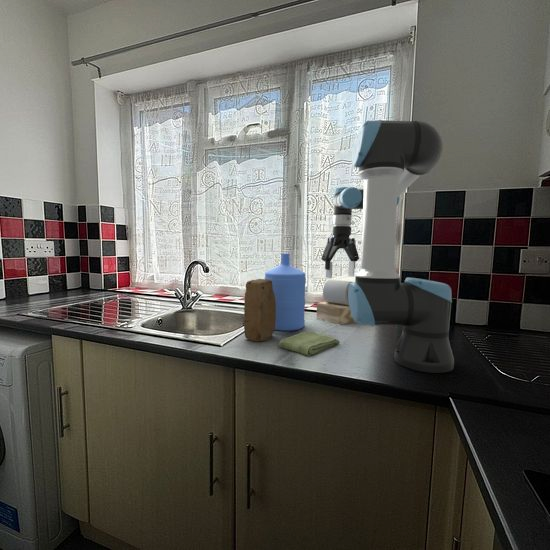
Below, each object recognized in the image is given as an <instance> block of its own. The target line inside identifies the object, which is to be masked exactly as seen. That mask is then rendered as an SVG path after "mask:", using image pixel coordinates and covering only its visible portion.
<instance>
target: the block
mask: <svg viewBox="0 0 550 550" xmlns="http://www.w3.org/2000/svg"><path fill="white" fill-rule="evenodd" d="M243 305H244V307H243V309H244V310H243V311H244V312H243V330H244V337H245V339H247V340H249V341H252V342H265V341H269V340H270V338H271V337H272V336H273V335H274V332H275V330H274V329H275V320H276V301H275V294H274V291H273V285H272V281H271V280H268V279H265V278H257V279H251V280H248V281H247V282H246V284H245V292H244V303H243Z"/></svg>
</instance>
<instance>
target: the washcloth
mask: <svg viewBox="0 0 550 550" xmlns="http://www.w3.org/2000/svg"><path fill="white" fill-rule="evenodd" d="M339 343H340V340H339V339H337V338H335V337H332V336H329V335H327V334H324V333H317V332H315V330H314V331H313V330H308V331H307V330H306V331H302V332H300V333H297V334H295V335H292V336H288V337H284V338H282V339H281V340H279V342H278V347H279V348H281V349H285V350H288V349H289V350H288V351H290V350H291V351H292V352H295V353H296V352H297V353H298V354H300V353H301V354H302V355H304V356H306V355H308V357H310V356H309V355H311V356H312V355H315V354H318V352H319V353H320V352H322V350H323V351H324V350H327V349H328V348H331V347H333V346H336V345H337V344H339Z"/></svg>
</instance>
